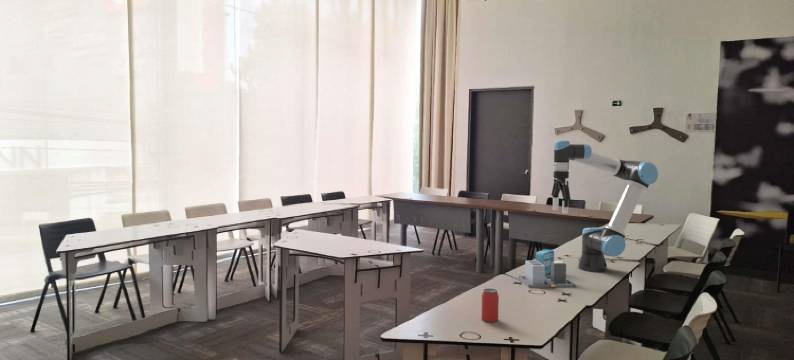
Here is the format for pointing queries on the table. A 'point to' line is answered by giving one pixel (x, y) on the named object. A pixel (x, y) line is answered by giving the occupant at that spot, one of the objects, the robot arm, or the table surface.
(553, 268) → the plug
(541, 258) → the data package
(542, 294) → the table surface
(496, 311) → the beer can
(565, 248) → the table surface
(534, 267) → the block
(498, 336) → the table surface
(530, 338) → the table surface
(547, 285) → the grey flat panel
